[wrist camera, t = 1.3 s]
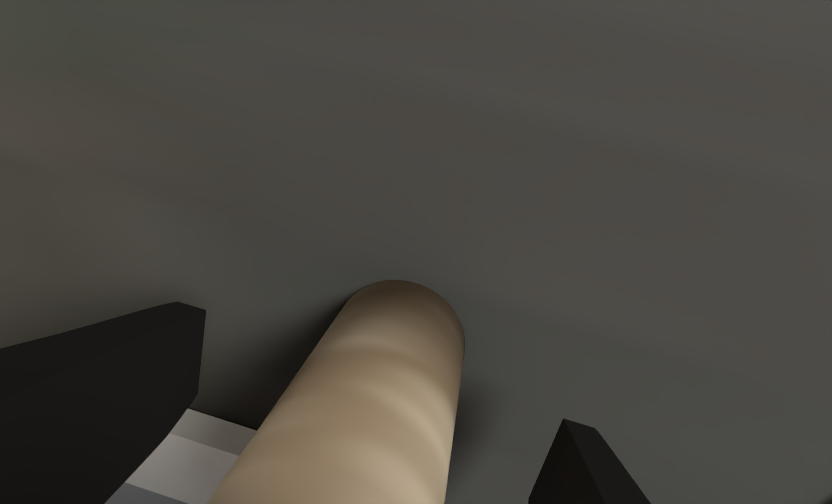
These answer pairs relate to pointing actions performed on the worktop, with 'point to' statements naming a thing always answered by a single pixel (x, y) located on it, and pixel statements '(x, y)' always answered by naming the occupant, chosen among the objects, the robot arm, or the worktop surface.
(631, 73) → the worktop surface
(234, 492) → the peg
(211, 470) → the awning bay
